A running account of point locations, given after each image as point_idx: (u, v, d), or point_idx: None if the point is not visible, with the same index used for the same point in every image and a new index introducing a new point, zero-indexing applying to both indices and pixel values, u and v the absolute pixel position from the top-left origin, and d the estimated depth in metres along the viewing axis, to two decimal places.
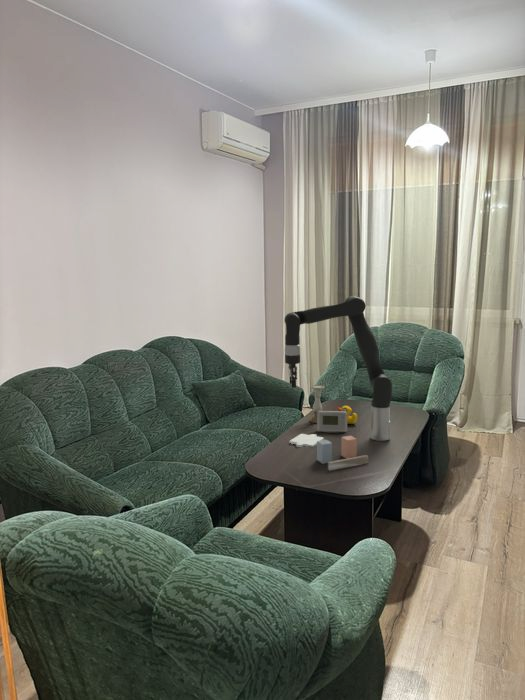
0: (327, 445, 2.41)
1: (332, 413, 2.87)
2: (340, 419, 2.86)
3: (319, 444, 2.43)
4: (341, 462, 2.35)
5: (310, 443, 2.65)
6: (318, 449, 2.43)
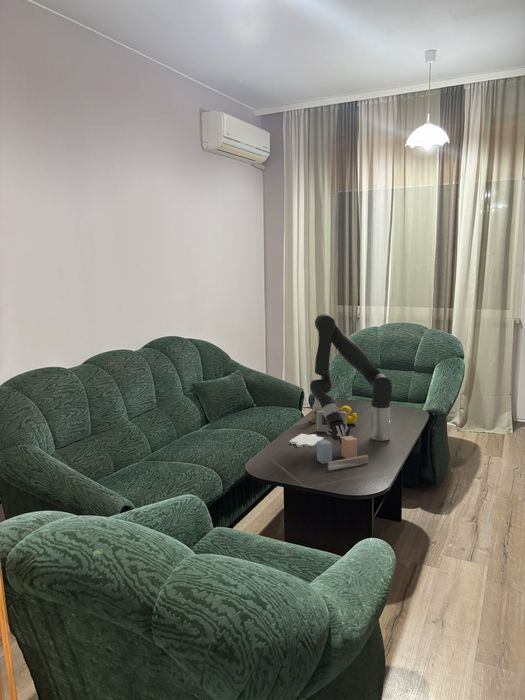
0: (327, 445, 2.41)
1: None
2: None
3: (319, 444, 2.43)
4: (341, 462, 2.35)
5: (310, 443, 2.65)
6: (318, 449, 2.43)
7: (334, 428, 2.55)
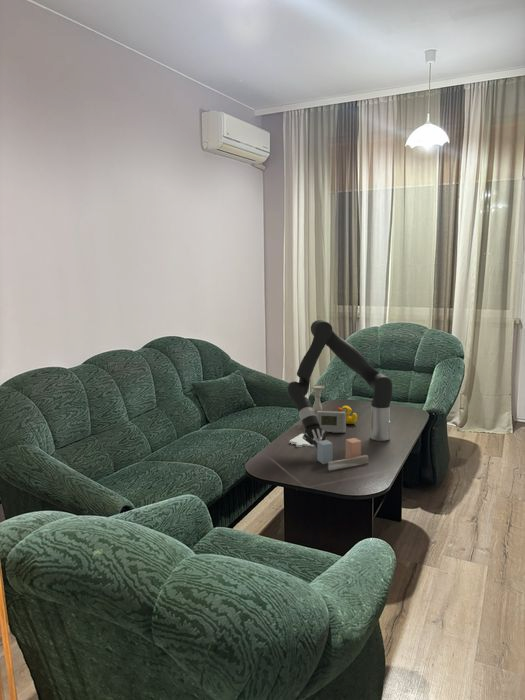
0: (328, 445, 2.40)
1: (331, 413, 2.86)
2: (339, 419, 2.85)
3: (319, 444, 2.42)
4: (341, 462, 2.35)
5: None
6: (319, 449, 2.43)
7: (310, 432, 2.49)
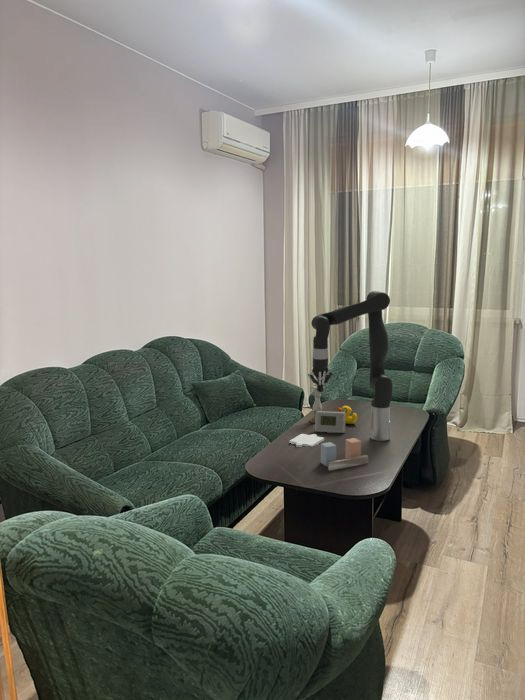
0: (331, 447, 2.38)
1: (330, 413, 2.86)
2: (338, 420, 2.85)
3: (322, 446, 2.39)
4: (341, 462, 2.35)
5: (310, 443, 2.65)
6: (322, 451, 2.40)
7: (317, 373, 2.60)
